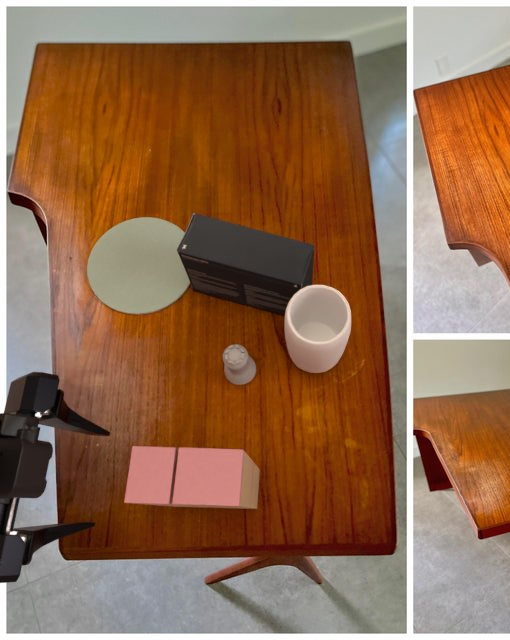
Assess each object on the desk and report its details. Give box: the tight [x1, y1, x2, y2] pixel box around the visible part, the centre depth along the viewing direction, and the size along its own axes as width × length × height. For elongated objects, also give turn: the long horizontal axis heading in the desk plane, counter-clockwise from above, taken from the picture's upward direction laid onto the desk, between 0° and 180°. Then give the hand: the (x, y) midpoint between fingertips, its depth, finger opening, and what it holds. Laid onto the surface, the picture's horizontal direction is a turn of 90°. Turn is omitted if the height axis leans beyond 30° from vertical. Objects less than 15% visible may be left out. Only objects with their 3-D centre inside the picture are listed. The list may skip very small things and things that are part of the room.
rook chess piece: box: [222, 343, 257, 386], centre depth 71 cm, size 4×4×8 cm
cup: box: [283, 284, 352, 374], centre depth 70 cm, size 8×8×14 cm
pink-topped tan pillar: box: [123, 445, 209, 509], centre depth 59 cm, size 4×5×22 cm
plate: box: [86, 216, 191, 316], centre depth 80 cm, size 16×16×1 cm
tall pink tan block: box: [172, 446, 261, 510], centre depth 59 cm, size 6×5×22 cm
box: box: [177, 212, 316, 317], centre depth 74 cm, size 17×7×12 cm, turn 74°
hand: (101, 478), depth 57 cm, fingers open, 9 cm apart
